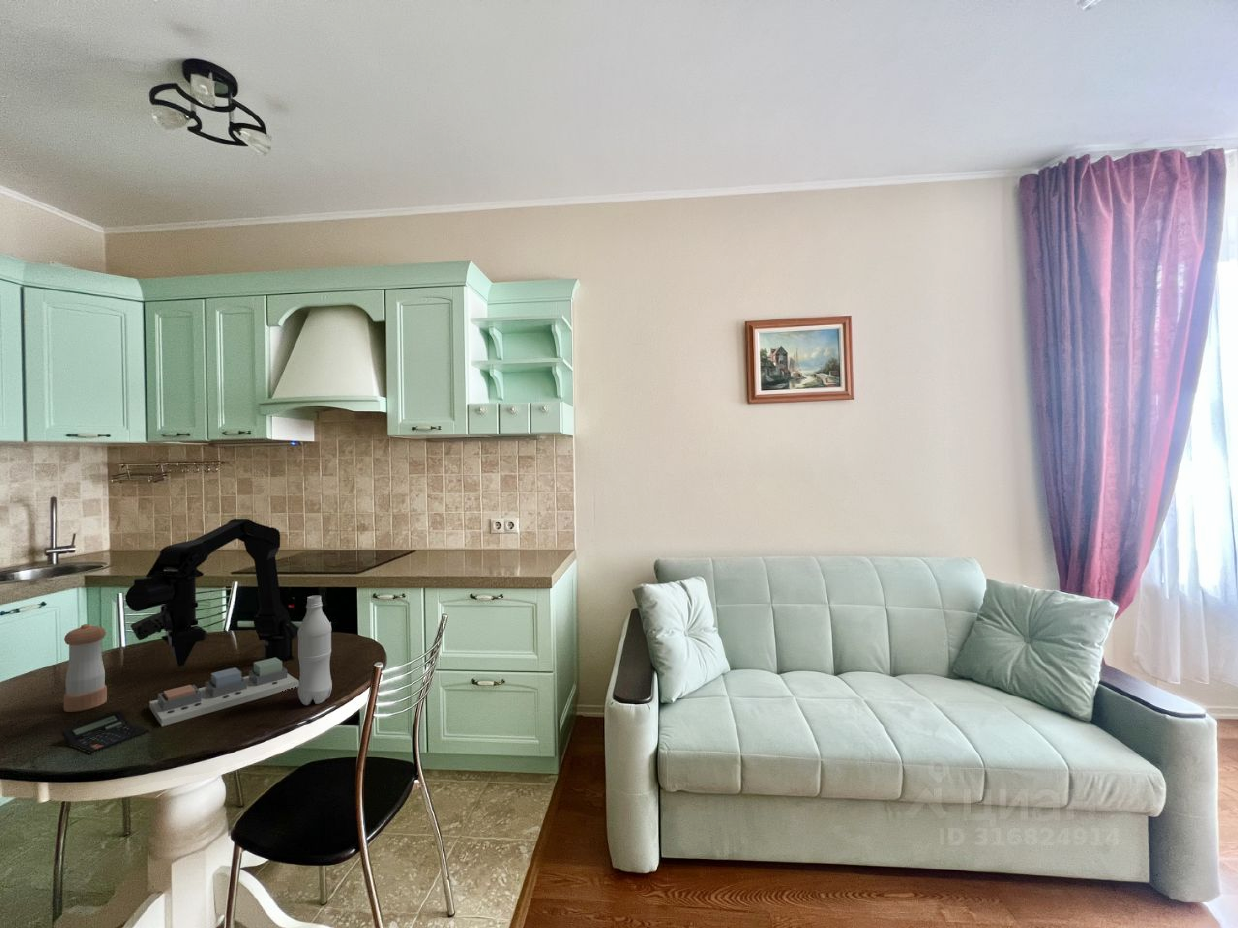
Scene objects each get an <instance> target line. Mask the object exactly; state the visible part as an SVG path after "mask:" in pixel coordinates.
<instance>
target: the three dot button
mask: <svg viewBox="0 0 1238 928" xmlns="http://www.w3.org/2000/svg"><path fill="white" fill-rule="evenodd" d="M163 693H164V699H165V700H166V701H168V700H172V699H175V698H179V697H183V696H187V695H191V694H194V693H196V690H195V689H194V688H193V687H192V684H189V685H185V686H180V687H175V688H172V689H167V690H164V691H163Z"/></svg>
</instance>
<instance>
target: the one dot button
mask: <svg viewBox="0 0 1238 928" xmlns="http://www.w3.org/2000/svg"><path fill="white" fill-rule="evenodd" d="M282 666H283V662H282V661H280V660H279V659H277V658H276V657H275V658H271V659H267V660H263V659H262V660H258V661H255V662H253V670H254V673H255V674H256V675H258V676H263V675H267V674H270V673H274V672H278V671H282Z"/></svg>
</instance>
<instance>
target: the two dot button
mask: <svg viewBox="0 0 1238 928" xmlns="http://www.w3.org/2000/svg"><path fill="white" fill-rule="evenodd" d="M241 676H242V671H241V670H239V669H238V668H237V667H231V668H226V669H223V670H219V671H215V672H214V671H213V672H211V673H210V681H211V684H212V685H213V686H214V687H215V688H217V687H221V686H225V685H229V684H232V683H236V682H240V681H241Z"/></svg>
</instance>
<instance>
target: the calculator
mask: <svg viewBox="0 0 1238 928" xmlns="http://www.w3.org/2000/svg"><path fill="white" fill-rule="evenodd" d="M149 732H150V730H149V729H148V728H145V727H141V726H138V725H135V724H132V723H130V722H129V721H128V720H127V719H126V718H125V716H124V715H123V714H122V712H121V710H118V711H116V712H115V711H114V712H112V713H109V714H106V715H103V716H101V717H97V718H94V719H91V720H89V721H85V722H83V723H80V724H77V725H75V726H71V727H68V728H66V729H63V730H61V735H62V737H63V738H64V739H65V741H66V743H68V745H69V746H70V745H72V746H75V747H77V748H80V749H82V750H85V751H86V752H85V753H87V752H90V753H94V752H97V751H100V750H102V751H104V750H103V749H105V750H107V749H109V747H110V748H112V747H111V746H113V747H115V746H117V744H118V745H120V744H122V742H123V743H125V742H124V741H126V742H128V741H130V740H129V739H131V740H132V738H133V739H135V737H136V738H138V737H141V736H143V735H146V734H149ZM127 740H128V741H127ZM119 743H120V744H119ZM114 745H115V746H114ZM106 748H107V749H106ZM100 752H101V751H100ZM97 753H98V752H97ZM94 754H95V753H94Z"/></svg>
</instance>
